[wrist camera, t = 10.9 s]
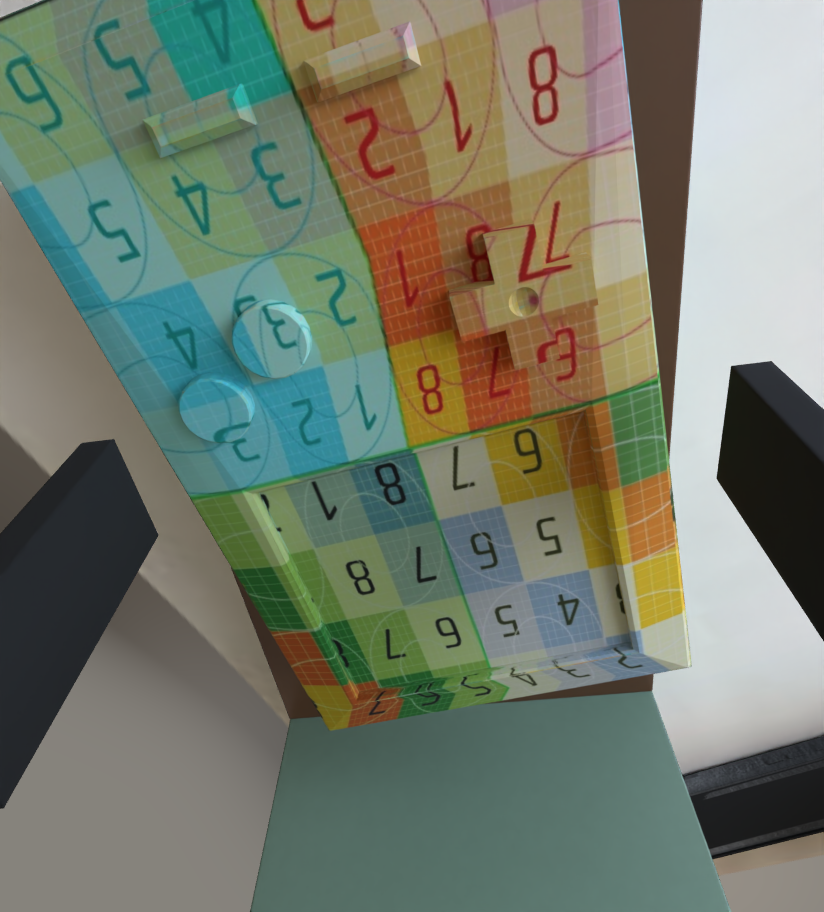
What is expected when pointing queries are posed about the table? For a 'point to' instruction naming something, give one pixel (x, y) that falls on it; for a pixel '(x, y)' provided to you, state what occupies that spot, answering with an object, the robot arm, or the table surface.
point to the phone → (761, 799)
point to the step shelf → (525, 718)
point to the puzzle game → (375, 320)
